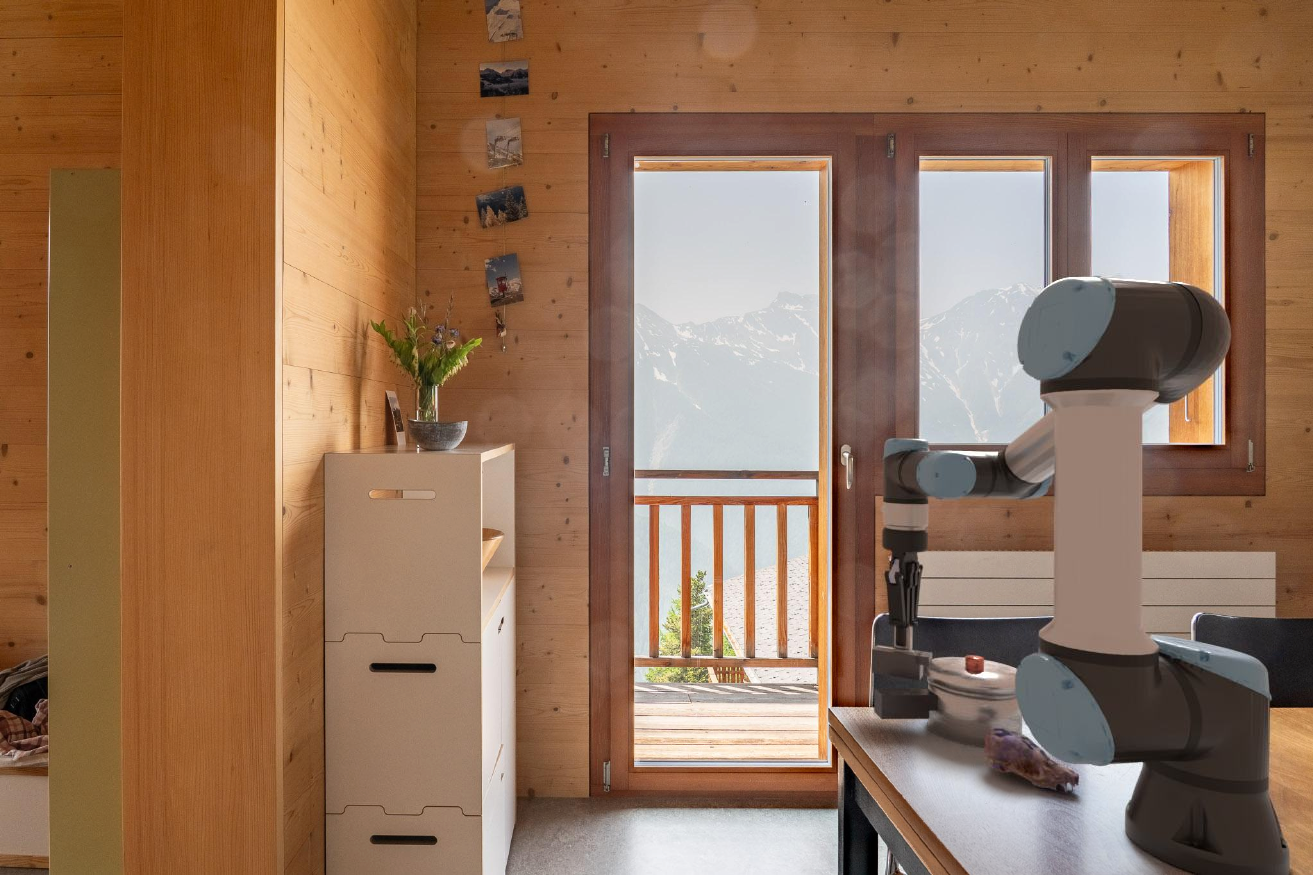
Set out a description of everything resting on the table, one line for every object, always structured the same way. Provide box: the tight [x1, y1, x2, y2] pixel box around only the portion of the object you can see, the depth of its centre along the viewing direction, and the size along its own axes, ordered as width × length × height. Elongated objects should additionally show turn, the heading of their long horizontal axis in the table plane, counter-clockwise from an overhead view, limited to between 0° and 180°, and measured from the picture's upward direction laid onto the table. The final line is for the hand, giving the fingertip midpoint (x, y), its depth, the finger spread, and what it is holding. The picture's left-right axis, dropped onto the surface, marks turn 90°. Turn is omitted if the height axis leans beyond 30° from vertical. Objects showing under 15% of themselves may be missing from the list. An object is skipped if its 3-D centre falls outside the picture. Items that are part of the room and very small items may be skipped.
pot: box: [873, 677, 1023, 748], centre depth 120 cm, size 14×23×8 cm, turn 94°
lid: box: [871, 644, 1017, 694], centre depth 122 cm, size 15×24×5 cm, turn 61°
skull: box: [983, 727, 1080, 793], centre depth 102 cm, size 12×8×6 cm, turn 36°
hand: (902, 663), depth 128 cm, fingers closed
